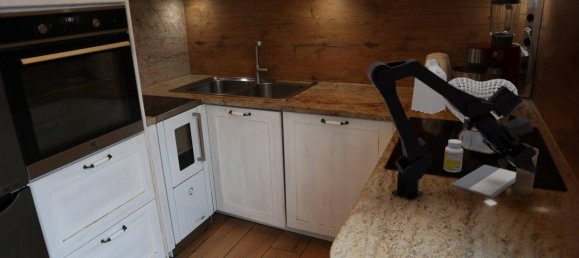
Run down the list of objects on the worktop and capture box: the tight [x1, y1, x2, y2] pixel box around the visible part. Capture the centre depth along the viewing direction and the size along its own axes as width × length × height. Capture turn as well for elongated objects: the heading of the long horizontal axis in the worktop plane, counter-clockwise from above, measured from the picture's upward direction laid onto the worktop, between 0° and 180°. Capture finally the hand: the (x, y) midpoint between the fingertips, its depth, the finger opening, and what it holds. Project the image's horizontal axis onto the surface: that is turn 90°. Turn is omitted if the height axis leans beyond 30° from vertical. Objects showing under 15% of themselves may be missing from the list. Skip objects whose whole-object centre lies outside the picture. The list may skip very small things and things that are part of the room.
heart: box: [443, 77, 519, 123], centre depth 172 cm, size 28×16×22 cm, turn 68°
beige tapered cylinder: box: [513, 146, 539, 197], centre depth 116 cm, size 5×5×13 cm
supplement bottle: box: [443, 138, 464, 173], centre depth 134 cm, size 5×5×10 cm
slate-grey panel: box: [451, 164, 516, 199], centre depth 126 cm, size 22×12×1 cm, turn 132°
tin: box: [457, 127, 497, 155], centre depth 150 cm, size 15×3×8 cm, turn 47°
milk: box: [410, 59, 448, 114], centre depth 202 cm, size 12×12×26 cm
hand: (525, 165), depth 116 cm, fingers open, 9 cm apart
